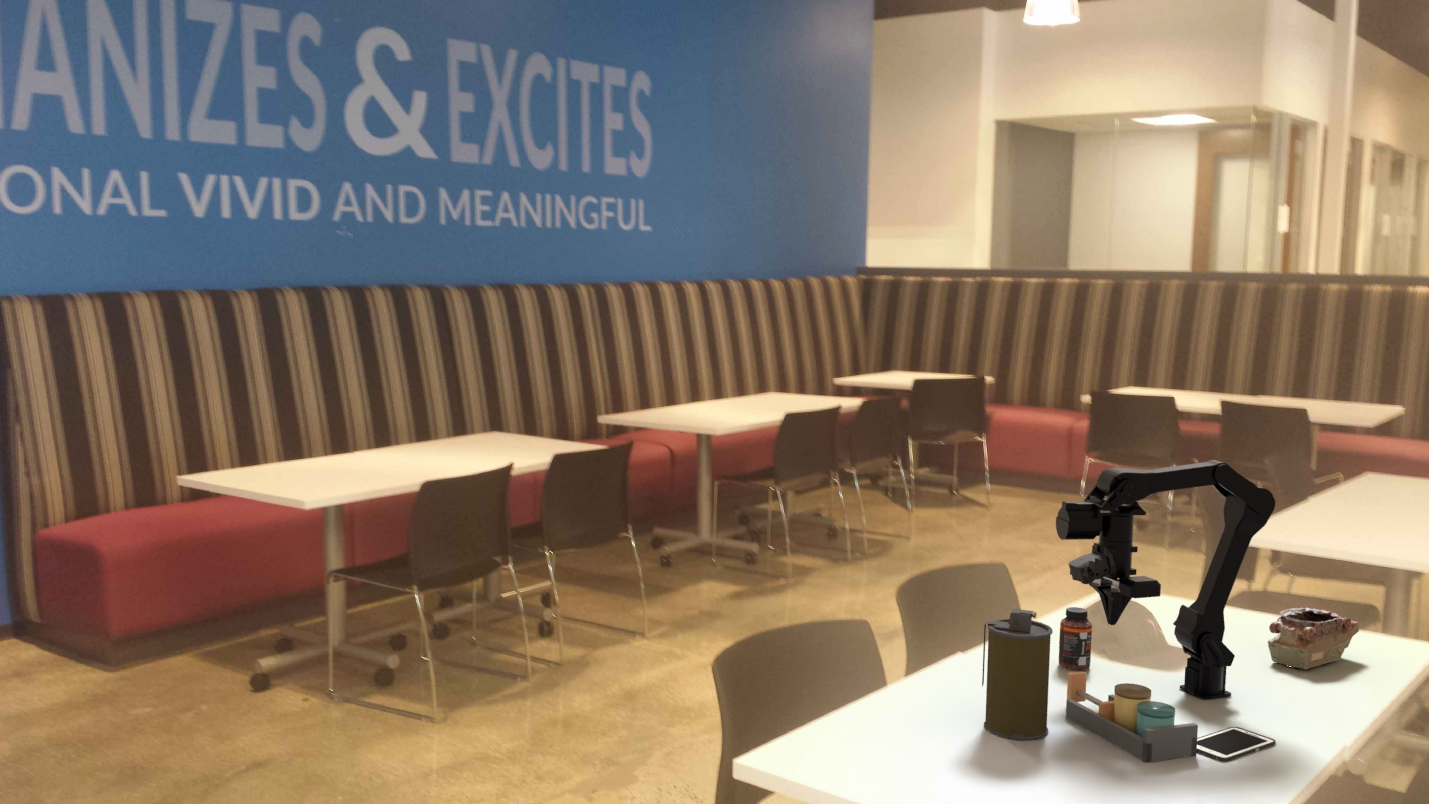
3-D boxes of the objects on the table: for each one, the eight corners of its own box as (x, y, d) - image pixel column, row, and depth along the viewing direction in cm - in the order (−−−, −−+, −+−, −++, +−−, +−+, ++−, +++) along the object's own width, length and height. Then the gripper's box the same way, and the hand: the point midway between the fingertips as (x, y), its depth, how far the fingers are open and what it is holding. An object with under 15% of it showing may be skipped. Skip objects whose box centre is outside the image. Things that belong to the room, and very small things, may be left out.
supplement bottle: (1091, 672, 233) (1094, 614, 232) (1059, 669, 235) (1062, 612, 234) (1088, 662, 239) (1091, 606, 238) (1057, 660, 240) (1059, 604, 239)
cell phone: (1180, 748, 196) (1180, 743, 196) (1234, 731, 204) (1234, 725, 204) (1224, 765, 190) (1224, 758, 190) (1277, 746, 198) (1278, 740, 198)
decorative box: (1243, 655, 246) (1246, 608, 245) (1311, 644, 255) (1313, 598, 254) (1301, 674, 234) (1304, 625, 233) (1369, 662, 243) (1372, 614, 242)
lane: (1112, 711, 212) (1113, 683, 211) (1196, 755, 192) (1197, 724, 192) (1065, 716, 209) (1067, 688, 208) (1146, 762, 189) (1147, 731, 189)
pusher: (1090, 701, 216) (1092, 670, 215) (1136, 726, 204) (1138, 693, 203) (1056, 705, 214) (1058, 673, 213) (1101, 730, 202) (1103, 697, 201)
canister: (1050, 722, 206) (1055, 606, 204) (1045, 744, 196) (1051, 622, 194) (984, 714, 209) (989, 600, 208) (977, 735, 200) (981, 615, 198)
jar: (1156, 741, 198) (1159, 699, 197) (1180, 754, 193) (1183, 711, 192) (1127, 745, 196) (1129, 703, 196) (1150, 758, 191) (1153, 715, 190)
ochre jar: (1133, 728, 204) (1136, 681, 203) (1156, 740, 198) (1158, 692, 198) (1105, 732, 202) (1107, 685, 201) (1127, 744, 197) (1129, 696, 196)
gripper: (1046, 531, 224) (1043, 614, 226) (1110, 552, 206) (1106, 642, 208) (1098, 528, 228) (1094, 610, 229) (1165, 549, 210) (1160, 637, 211)
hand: (1111, 624), depth 219 cm, fingers closed
